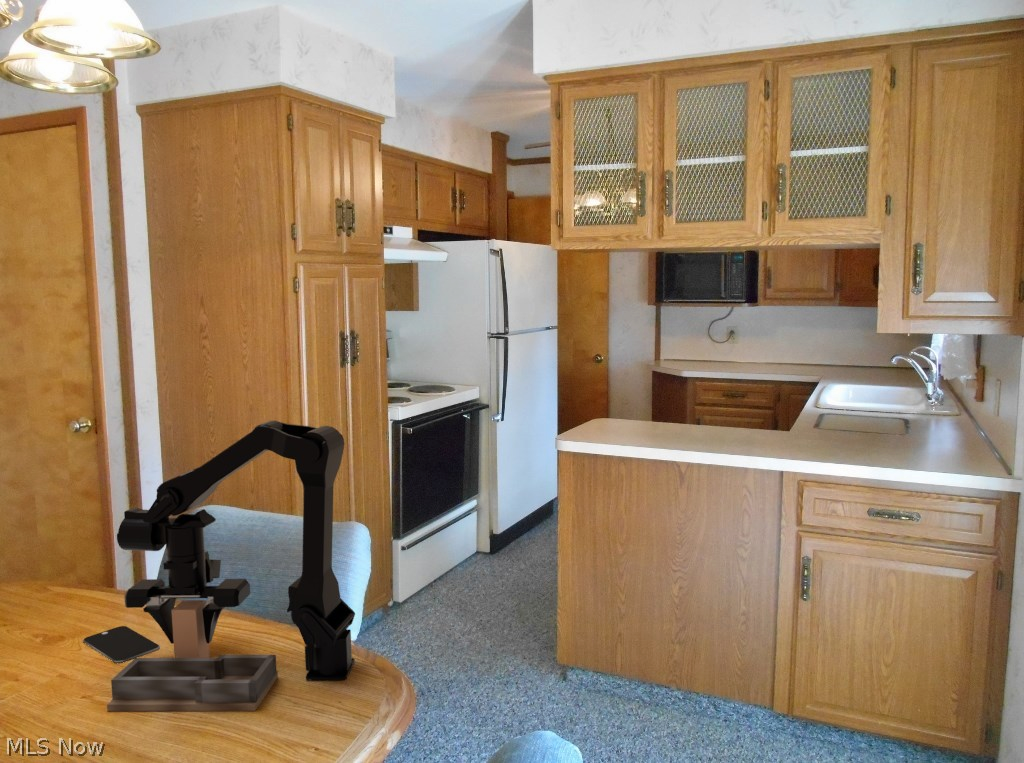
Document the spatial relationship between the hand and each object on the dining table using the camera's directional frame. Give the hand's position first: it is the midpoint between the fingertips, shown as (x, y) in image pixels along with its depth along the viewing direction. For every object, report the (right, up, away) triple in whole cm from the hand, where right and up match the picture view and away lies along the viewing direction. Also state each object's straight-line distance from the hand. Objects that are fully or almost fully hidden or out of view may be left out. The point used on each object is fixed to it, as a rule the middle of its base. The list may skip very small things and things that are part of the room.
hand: (191, 642), depth 126 cm
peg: (0, -4, 0) cm, 4 cm away
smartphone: (-16, -4, +8) cm, 18 cm away
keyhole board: (+5, -5, -10) cm, 12 cm away
